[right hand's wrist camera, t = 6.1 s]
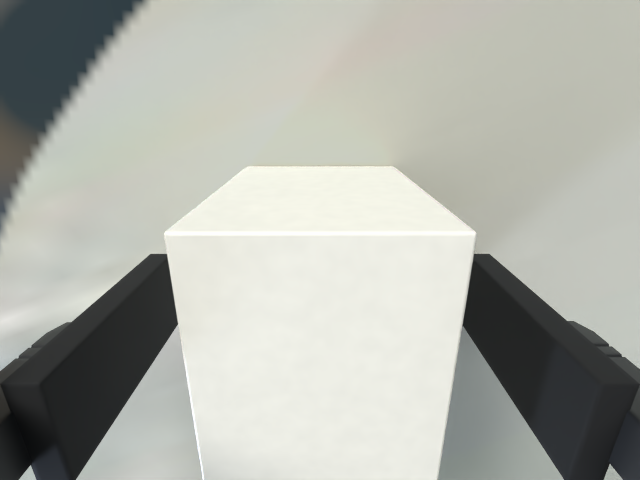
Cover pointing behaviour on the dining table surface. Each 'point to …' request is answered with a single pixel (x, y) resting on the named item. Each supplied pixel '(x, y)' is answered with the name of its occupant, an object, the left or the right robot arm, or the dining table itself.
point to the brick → (320, 323)
